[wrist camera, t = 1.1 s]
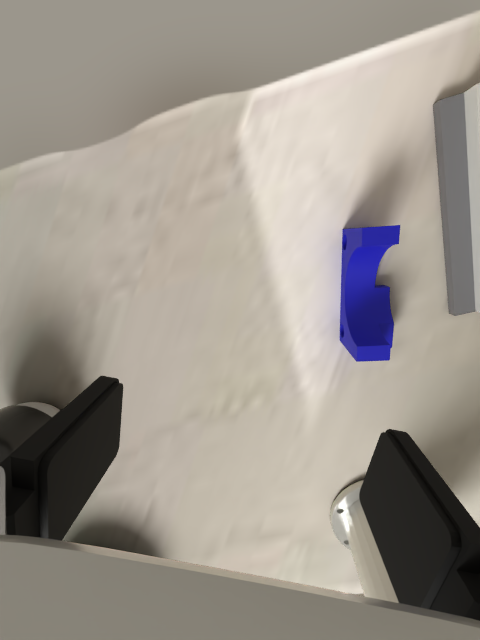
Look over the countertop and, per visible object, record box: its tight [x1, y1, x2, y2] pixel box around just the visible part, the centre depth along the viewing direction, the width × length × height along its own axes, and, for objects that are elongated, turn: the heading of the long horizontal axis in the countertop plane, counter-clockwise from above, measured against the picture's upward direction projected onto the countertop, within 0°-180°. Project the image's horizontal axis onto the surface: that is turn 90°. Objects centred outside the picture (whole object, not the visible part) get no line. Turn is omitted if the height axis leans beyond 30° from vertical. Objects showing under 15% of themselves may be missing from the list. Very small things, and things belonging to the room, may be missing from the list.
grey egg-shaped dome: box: [0, 402, 60, 463], centre depth 31 cm, size 10×10×15 cm
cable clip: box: [340, 225, 400, 362], centre depth 28 cm, size 12×4×6 cm, turn 4°
